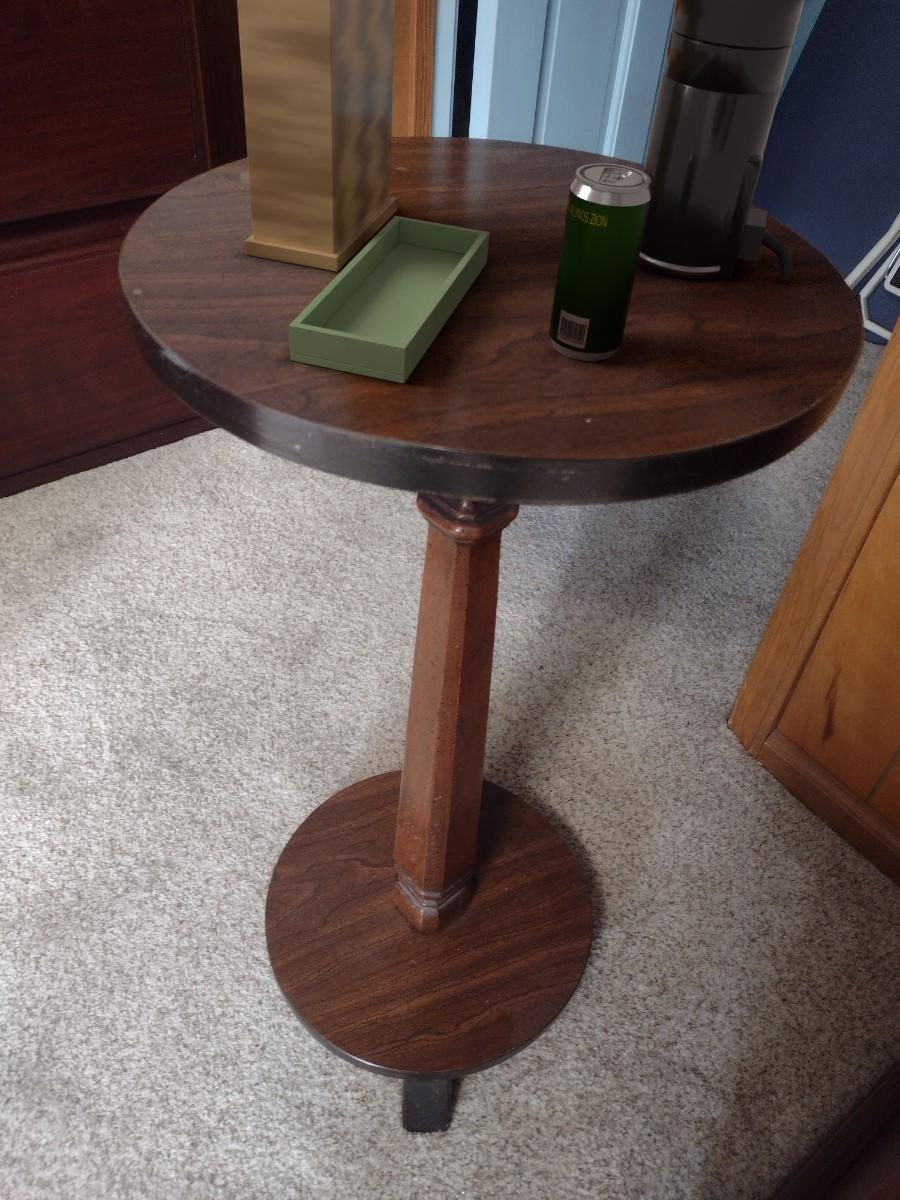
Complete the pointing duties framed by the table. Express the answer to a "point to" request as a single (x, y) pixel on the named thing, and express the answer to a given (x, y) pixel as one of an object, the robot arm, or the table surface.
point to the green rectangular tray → (390, 300)
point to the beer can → (598, 260)
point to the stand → (317, 125)
